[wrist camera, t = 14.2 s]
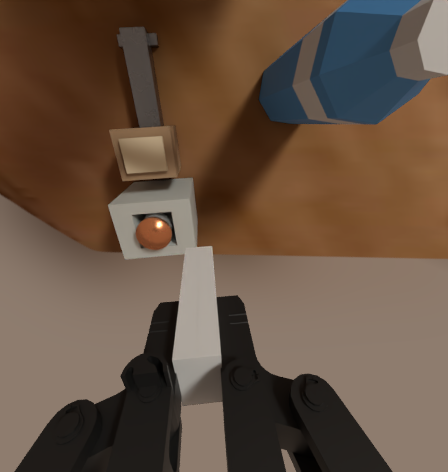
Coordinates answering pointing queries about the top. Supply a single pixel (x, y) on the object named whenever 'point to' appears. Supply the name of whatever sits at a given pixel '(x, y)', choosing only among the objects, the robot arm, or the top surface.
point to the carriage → (146, 152)
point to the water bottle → (359, 63)
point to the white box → (155, 201)
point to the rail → (142, 73)
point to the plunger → (155, 230)
